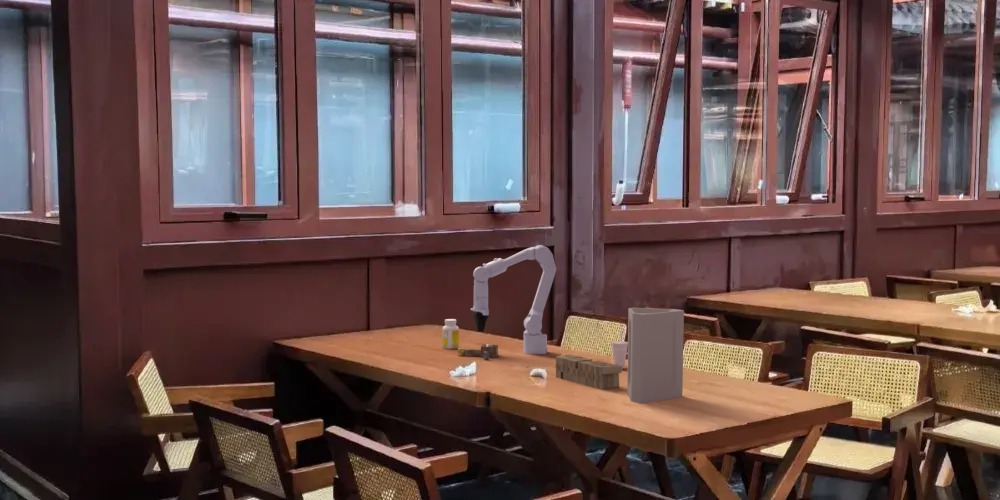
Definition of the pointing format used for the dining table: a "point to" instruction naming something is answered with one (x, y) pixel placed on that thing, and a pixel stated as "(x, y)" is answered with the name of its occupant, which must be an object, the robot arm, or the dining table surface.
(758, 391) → the dining table surface
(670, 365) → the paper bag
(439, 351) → the dining table surface
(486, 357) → the dowel
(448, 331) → the supplement bottle
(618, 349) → the smoothie
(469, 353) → the knob-topped wooden stand
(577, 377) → the block tower
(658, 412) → the dining table surface
